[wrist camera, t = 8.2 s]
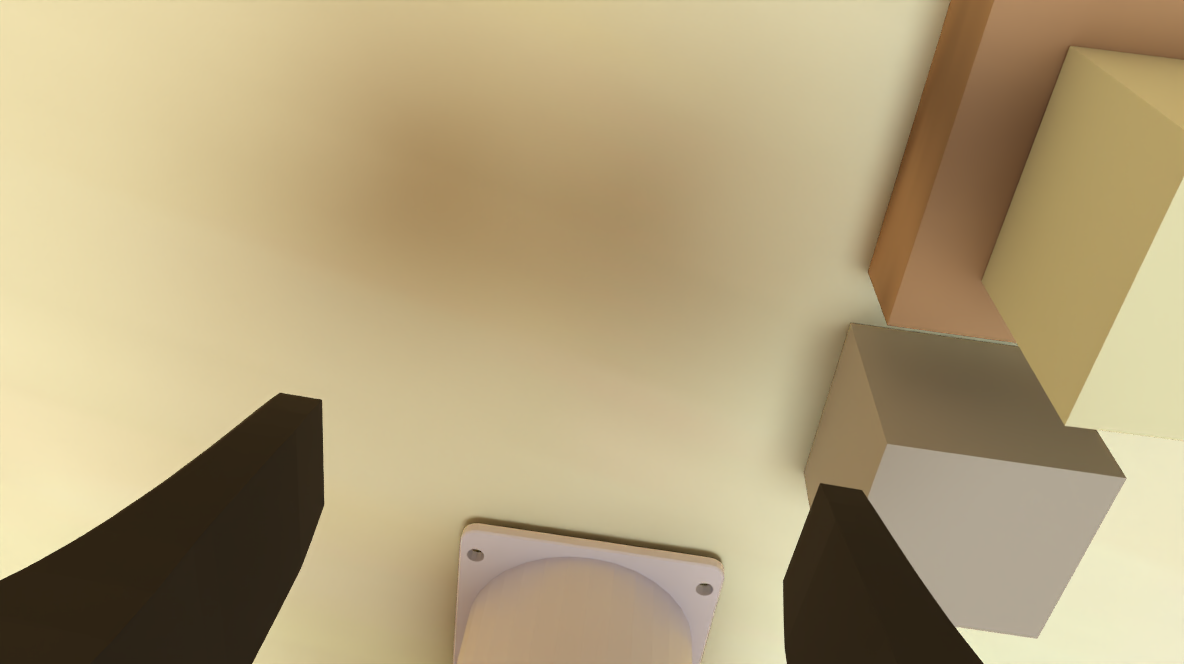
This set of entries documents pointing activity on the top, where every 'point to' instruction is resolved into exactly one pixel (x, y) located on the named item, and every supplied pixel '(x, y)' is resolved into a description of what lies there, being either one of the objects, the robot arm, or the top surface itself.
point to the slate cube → (965, 471)
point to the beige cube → (1102, 246)
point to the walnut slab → (987, 145)
